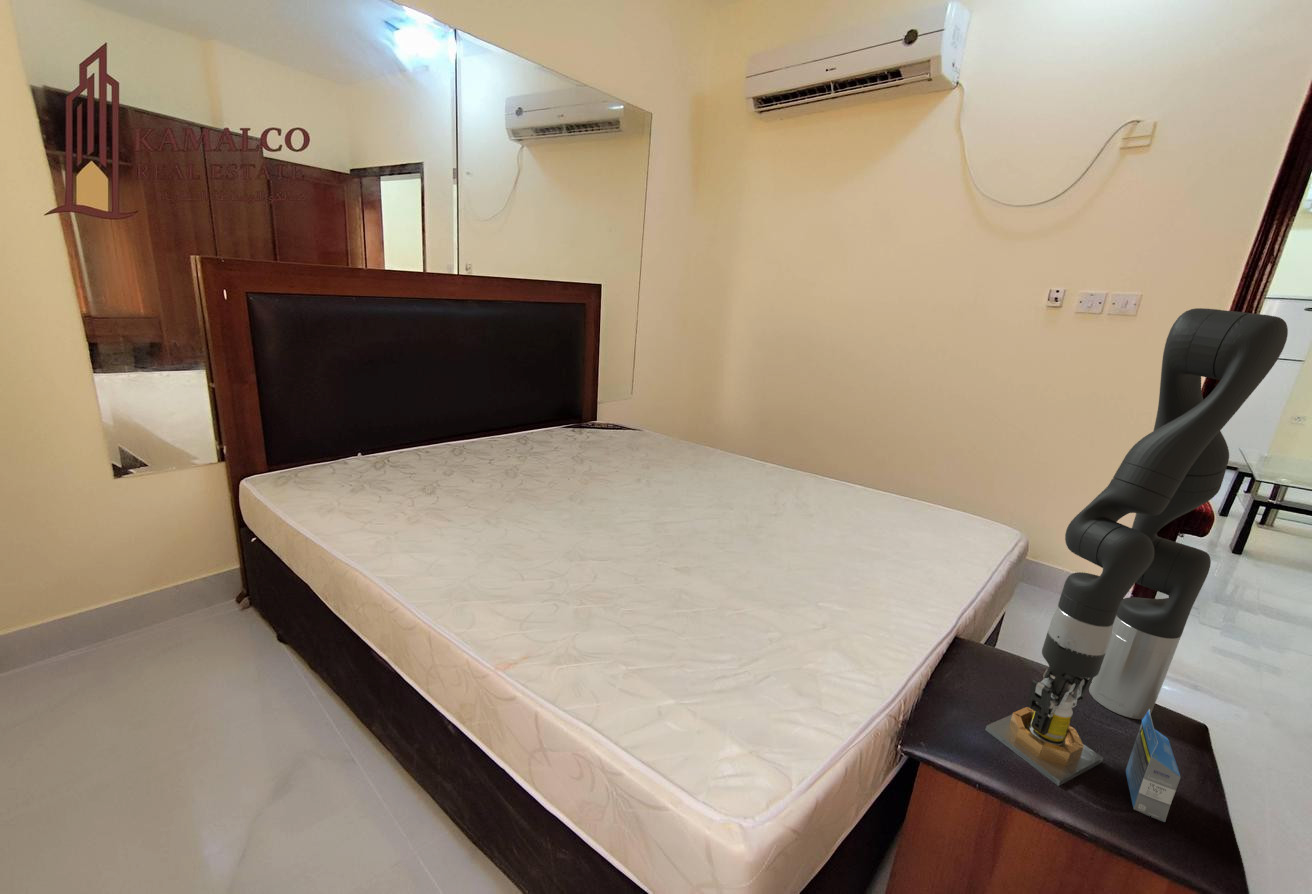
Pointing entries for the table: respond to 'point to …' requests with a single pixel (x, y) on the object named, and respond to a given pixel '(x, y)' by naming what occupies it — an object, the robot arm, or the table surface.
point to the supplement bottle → (1057, 723)
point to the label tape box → (1152, 772)
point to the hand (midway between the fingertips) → (1048, 725)
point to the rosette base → (1042, 764)
